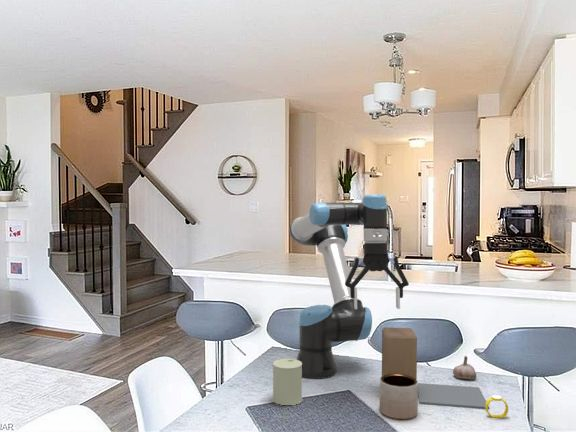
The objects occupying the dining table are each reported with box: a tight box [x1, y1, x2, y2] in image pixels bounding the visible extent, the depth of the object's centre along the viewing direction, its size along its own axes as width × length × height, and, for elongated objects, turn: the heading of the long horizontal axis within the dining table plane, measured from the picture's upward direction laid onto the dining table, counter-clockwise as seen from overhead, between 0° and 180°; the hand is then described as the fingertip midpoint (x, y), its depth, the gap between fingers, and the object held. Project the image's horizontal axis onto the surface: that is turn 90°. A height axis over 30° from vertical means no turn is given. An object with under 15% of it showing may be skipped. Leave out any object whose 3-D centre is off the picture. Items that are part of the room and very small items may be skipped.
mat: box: [418, 382, 490, 410], centre depth 155 cm, size 20×16×1 cm
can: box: [272, 358, 303, 406], centre depth 152 cm, size 9×9×12 cm
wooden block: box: [381, 326, 418, 381], centre depth 158 cm, size 10×10×20 cm
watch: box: [484, 394, 509, 419], centre depth 140 cm, size 6×3×6 cm, turn 84°
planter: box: [379, 374, 419, 421], centre depth 143 cm, size 11×11×10 cm
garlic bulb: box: [452, 355, 477, 380], centre depth 171 cm, size 8×7×8 cm
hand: (376, 308), depth 157 cm, fingers open, 13 cm apart
